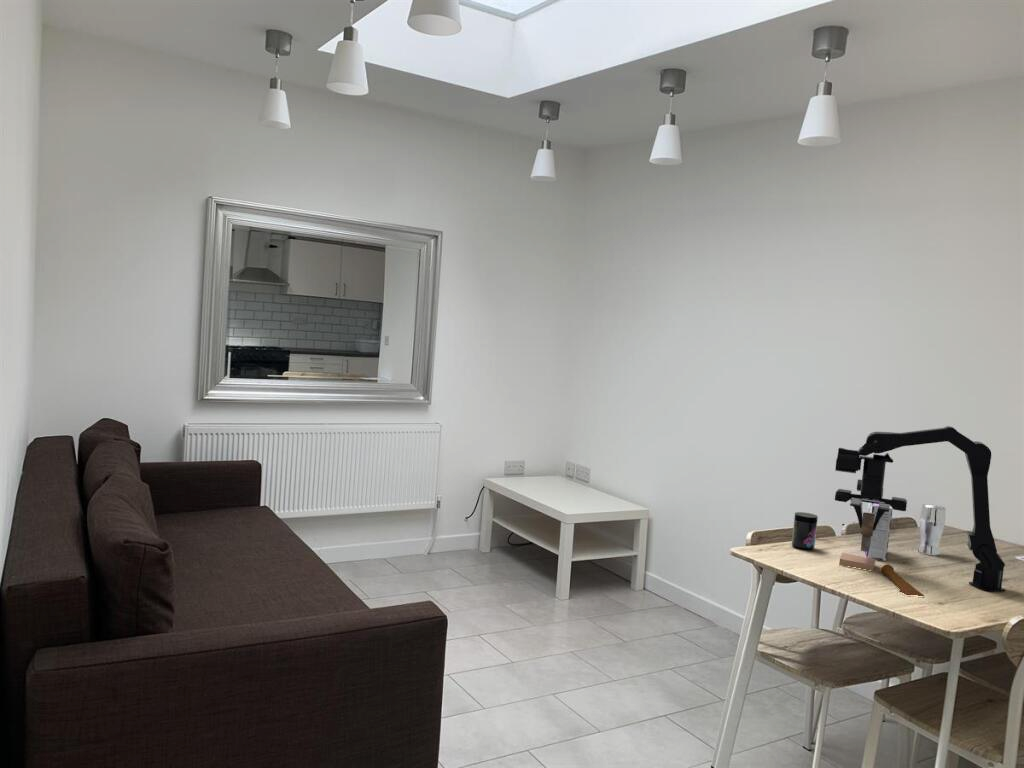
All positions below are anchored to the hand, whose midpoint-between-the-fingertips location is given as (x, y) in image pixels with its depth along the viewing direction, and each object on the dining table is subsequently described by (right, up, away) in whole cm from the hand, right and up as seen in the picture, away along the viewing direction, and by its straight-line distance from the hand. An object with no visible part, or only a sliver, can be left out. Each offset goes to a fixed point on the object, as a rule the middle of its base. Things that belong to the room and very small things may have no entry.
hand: (867, 529), depth 233 cm
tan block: (+2, -10, -1) cm, 10 cm away
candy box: (+9, -11, +16) cm, 21 cm away
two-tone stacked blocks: (0, -6, 0) cm, 6 cm away
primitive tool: (+2, -13, -16) cm, 20 cm away
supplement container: (-13, -9, +17) cm, 23 cm away
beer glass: (+29, -12, +22) cm, 39 cm away
